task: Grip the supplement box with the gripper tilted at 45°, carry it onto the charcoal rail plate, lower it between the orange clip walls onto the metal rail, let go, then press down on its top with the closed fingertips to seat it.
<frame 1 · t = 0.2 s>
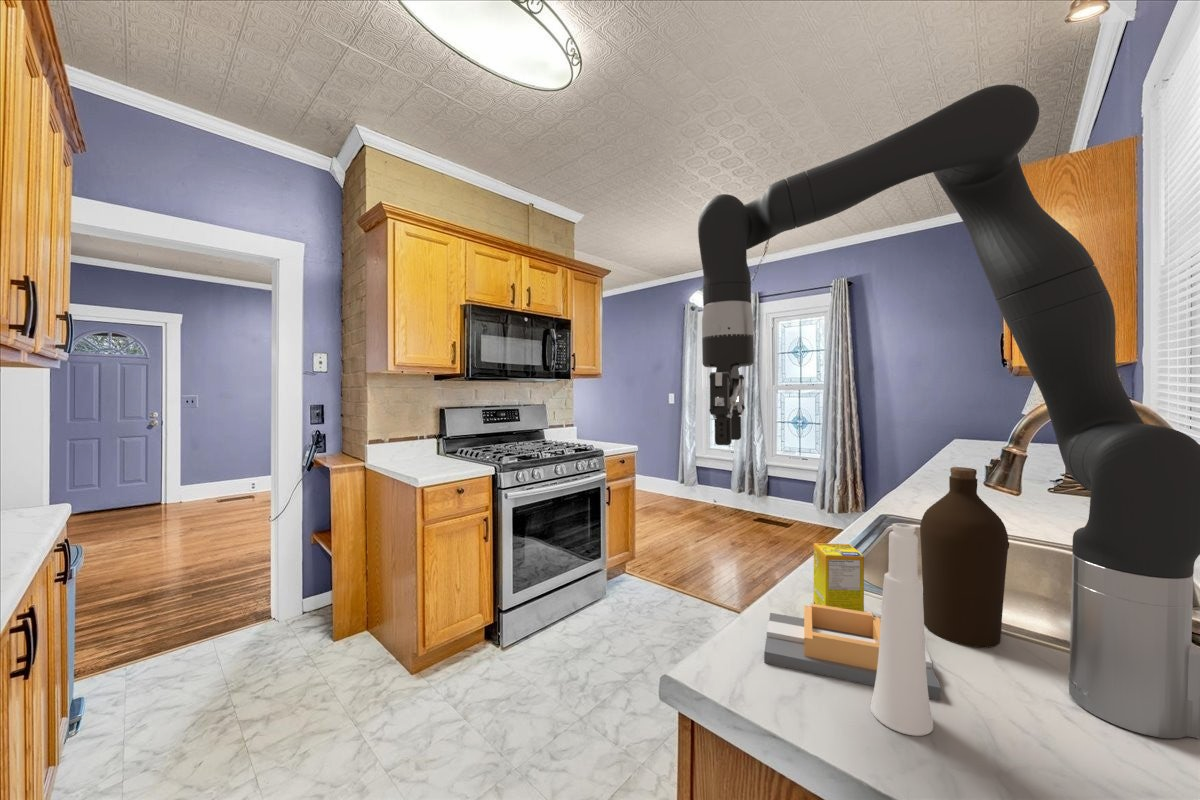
hand: (728, 442, 72), 29 cm above the counter, tool pointing down, fingers open, 8 cm apart
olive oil: (961, 633, 72), on the counter
supplement box: (837, 615, 78), on the counter
rail mount: (843, 655, 66), on the counter
cosmetic bottle: (900, 719, 54), on the counter
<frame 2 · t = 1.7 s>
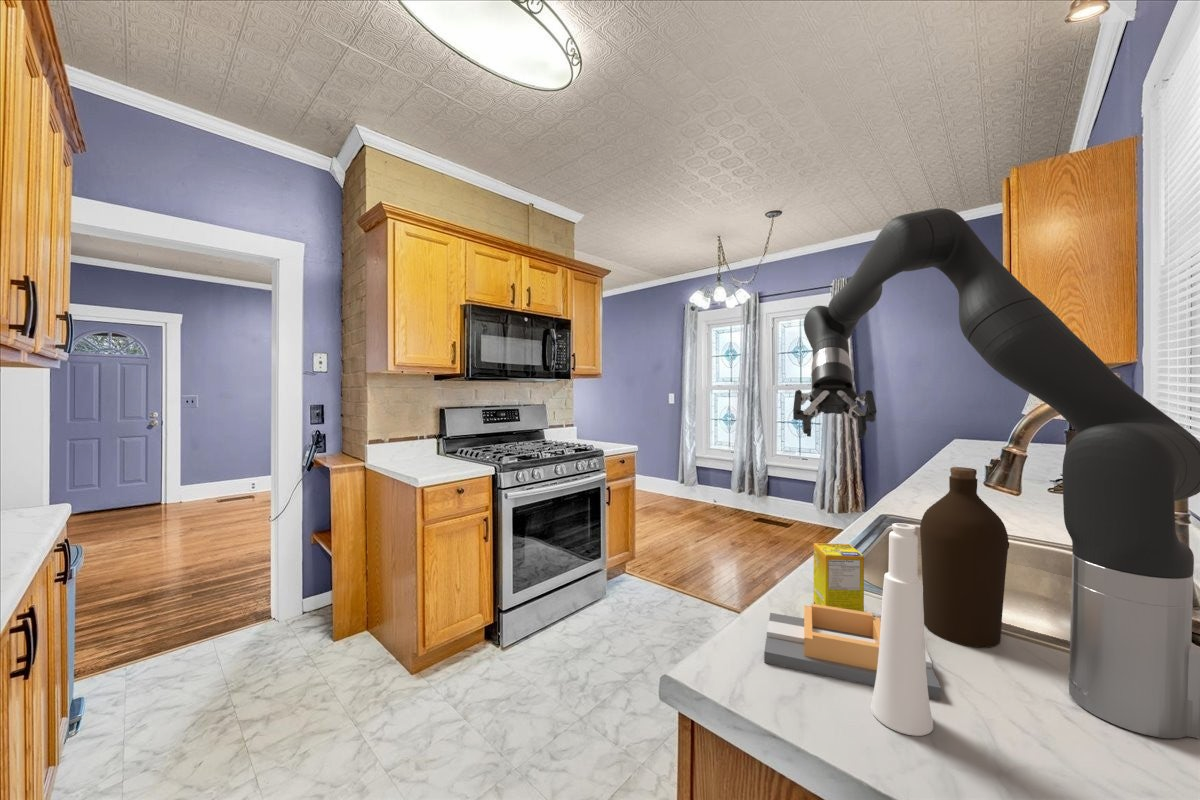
hand: (834, 434, 88), 28 cm above the counter, tool tilted 45°, fingers open, 8 cm apart
nothing on the counter moved.
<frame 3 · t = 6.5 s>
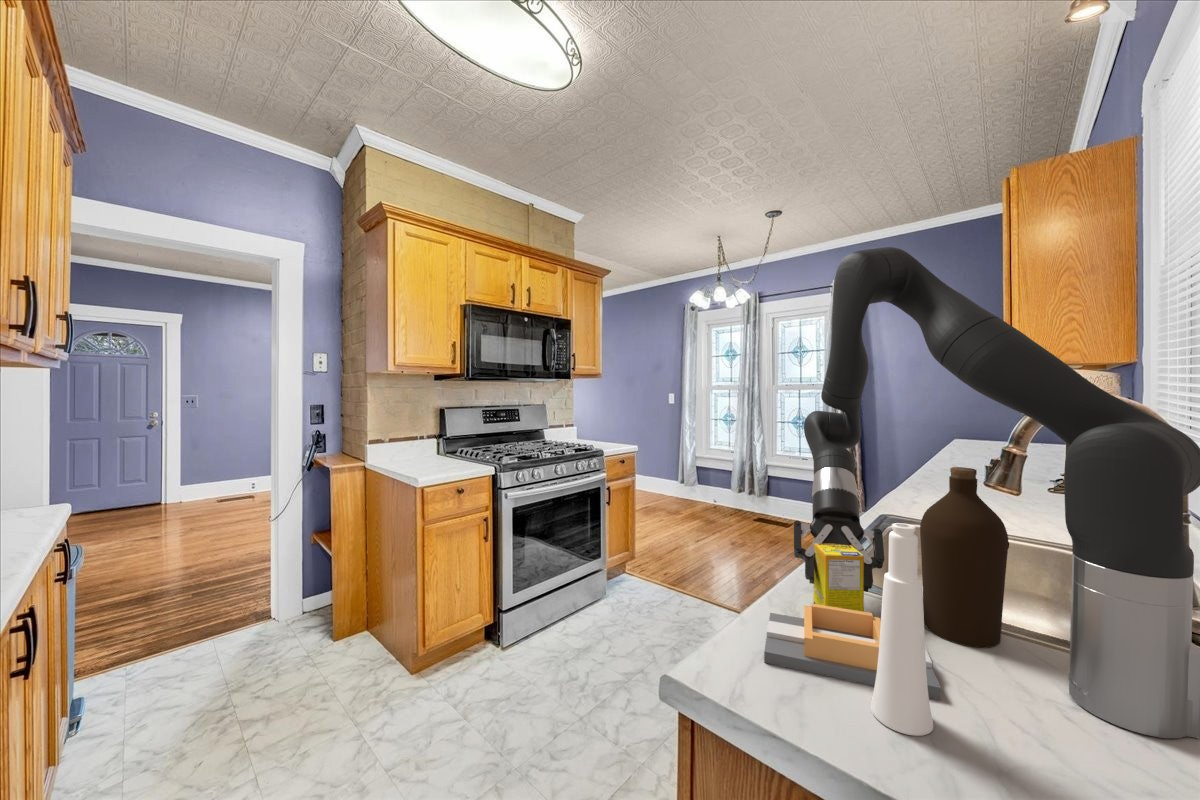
hand: (838, 585, 77), 5 cm above the counter, tool tilted 45°, fingers closed on supplement box, 7 cm apart
supplement box: (837, 615, 78), on the counter, touching gripper
everything else where it was.
when the fingers open (9 cm above the counter, at t = 11.8 s): supplement box drops 1 cm, resting on rail mount.
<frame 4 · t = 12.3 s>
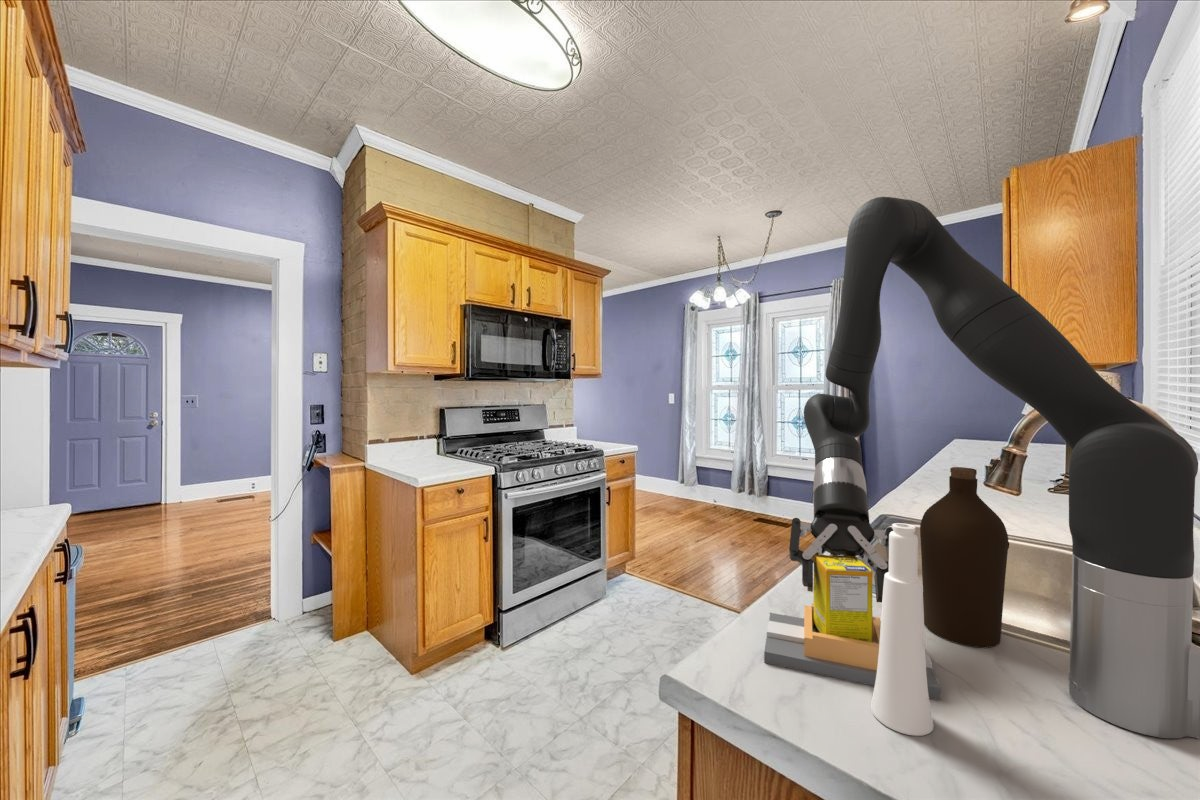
hand: (844, 594, 65), 9 cm above the counter, tool tilted 45°, fingers open, 8 cm apart
supplement box: (841, 640, 67), point 2 cm above the counter, touching rail mount
everything else where it was.
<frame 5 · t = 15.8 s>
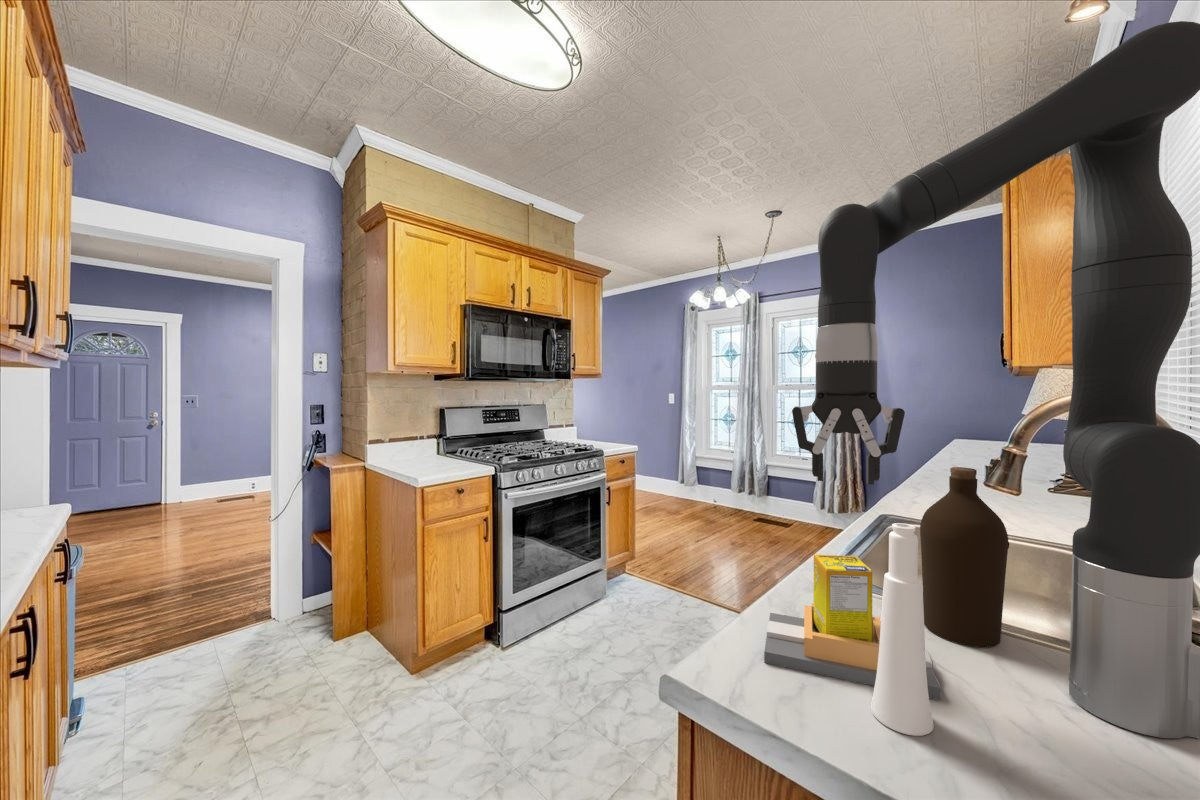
hand: (844, 481, 66), 24 cm above the counter, tool pointing down, fingers open, 5 cm apart
nothing on the counter moved.
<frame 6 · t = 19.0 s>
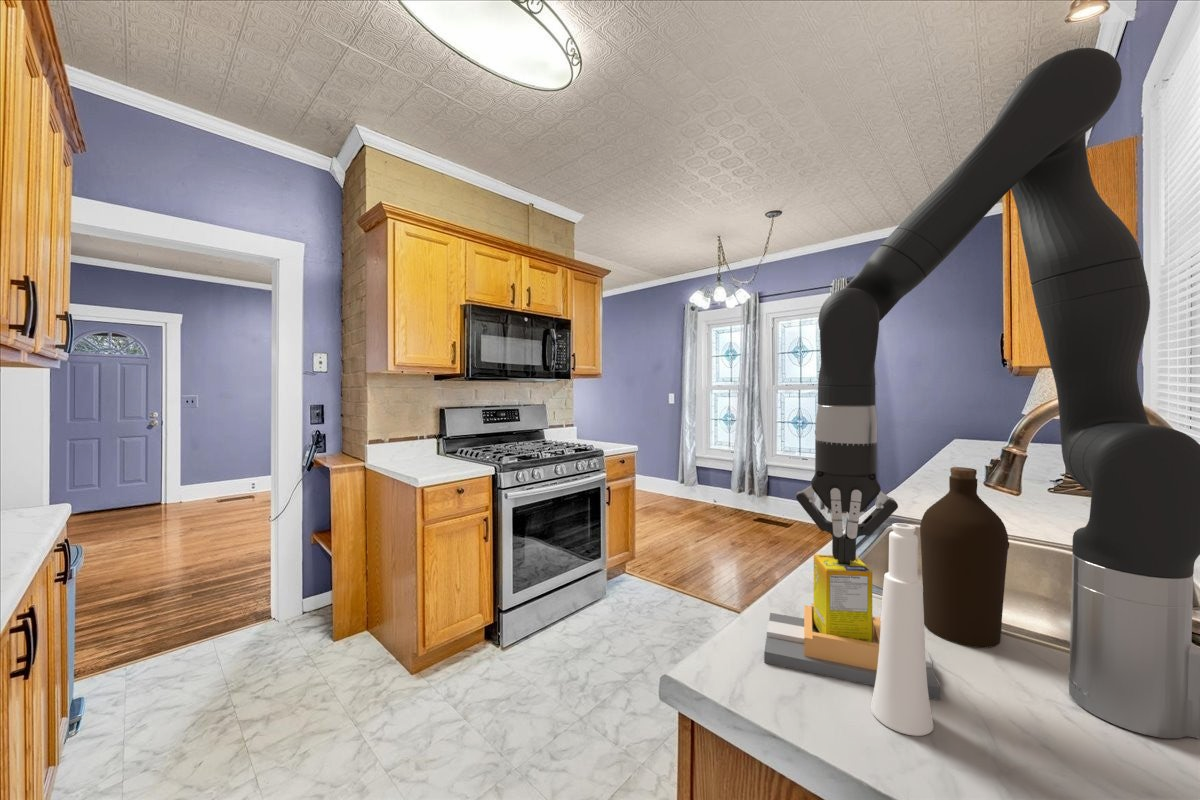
hand: (843, 562, 66), 13 cm above the counter, tool pointing down, fingers closed
supplement box: (841, 640, 67), point 2 cm above the counter, touching gripper, rail mount
everything else where it was.
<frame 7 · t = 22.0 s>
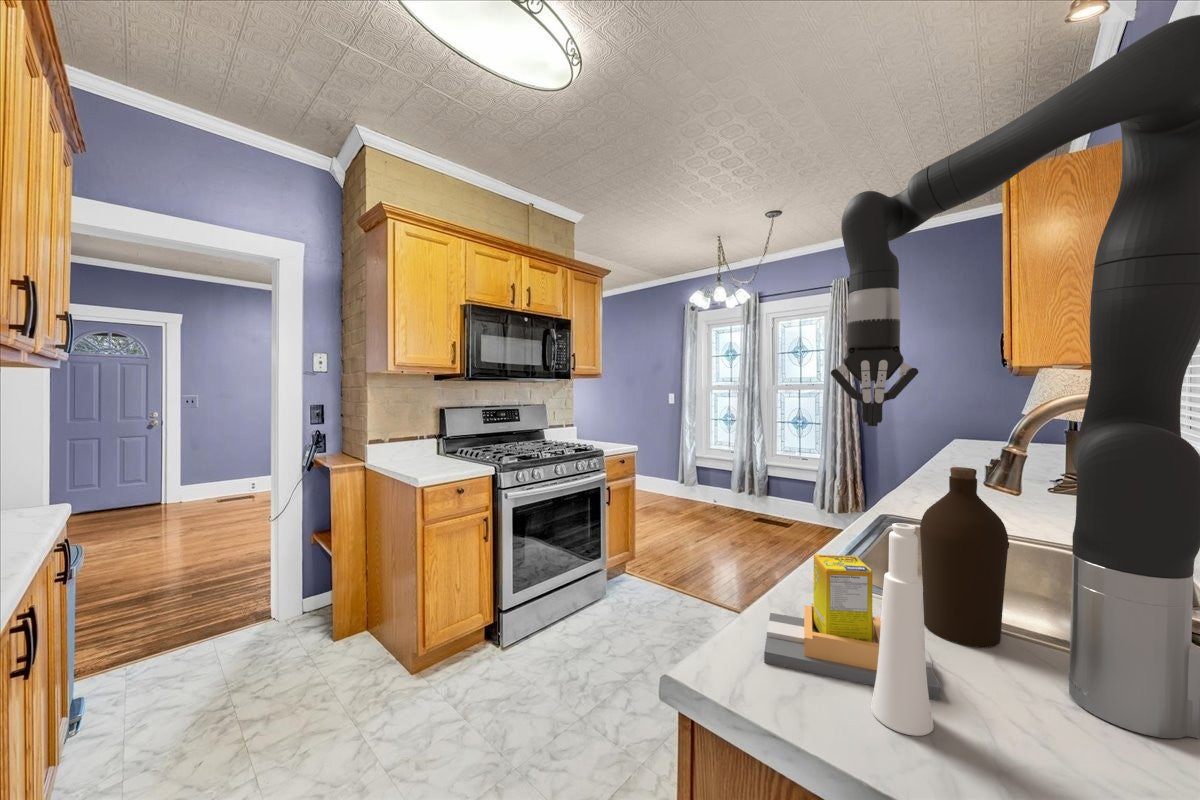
hand: (871, 425, 78), 31 cm above the counter, tool pointing down, fingers closed
supplement box: (841, 640, 67), point 2 cm above the counter, touching rail mount
everything else where it was.
at the end: supplement box 0.4 cm off-centre on the rail mount, point 2.0 cm above the rail mount's base; supplement box tilted 0°; the gripper is holding nothing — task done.
